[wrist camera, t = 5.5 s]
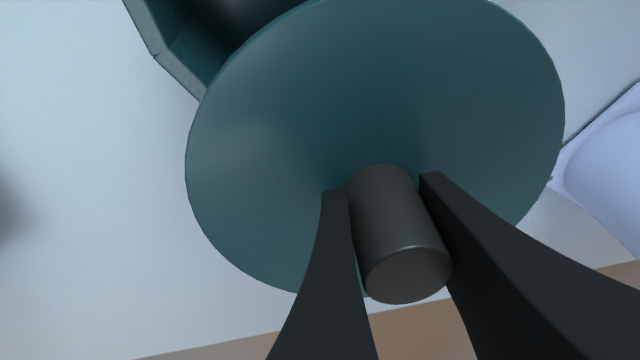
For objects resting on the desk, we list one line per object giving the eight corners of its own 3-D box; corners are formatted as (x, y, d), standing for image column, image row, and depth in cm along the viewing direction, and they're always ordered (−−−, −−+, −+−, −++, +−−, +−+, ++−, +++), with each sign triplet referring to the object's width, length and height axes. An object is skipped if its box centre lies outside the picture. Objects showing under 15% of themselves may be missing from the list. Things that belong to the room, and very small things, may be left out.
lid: (617, 109, 12) (764, 196, 9) (394, 302, 18) (425, 403, 15) (310, -149, 8) (345, -197, 4) (143, 228, 13) (94, 351, 10)
